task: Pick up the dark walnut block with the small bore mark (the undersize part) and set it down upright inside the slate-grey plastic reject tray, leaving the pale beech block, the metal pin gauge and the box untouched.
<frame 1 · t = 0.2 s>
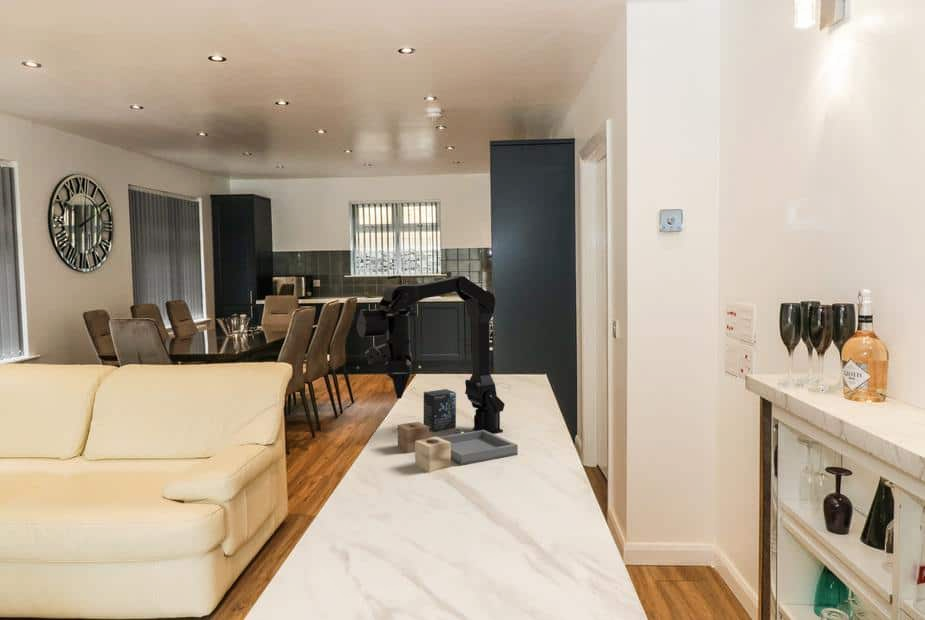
hand: (399, 394, 163), 14 cm above the counter, fingers open, 9 cm apart
box: (439, 428, 182), on the counter
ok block: (433, 466, 149), on the counter
tray: (473, 451, 160), on the counter
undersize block: (413, 448, 163), on the counter
pin gauge: (442, 442, 168), on the counter
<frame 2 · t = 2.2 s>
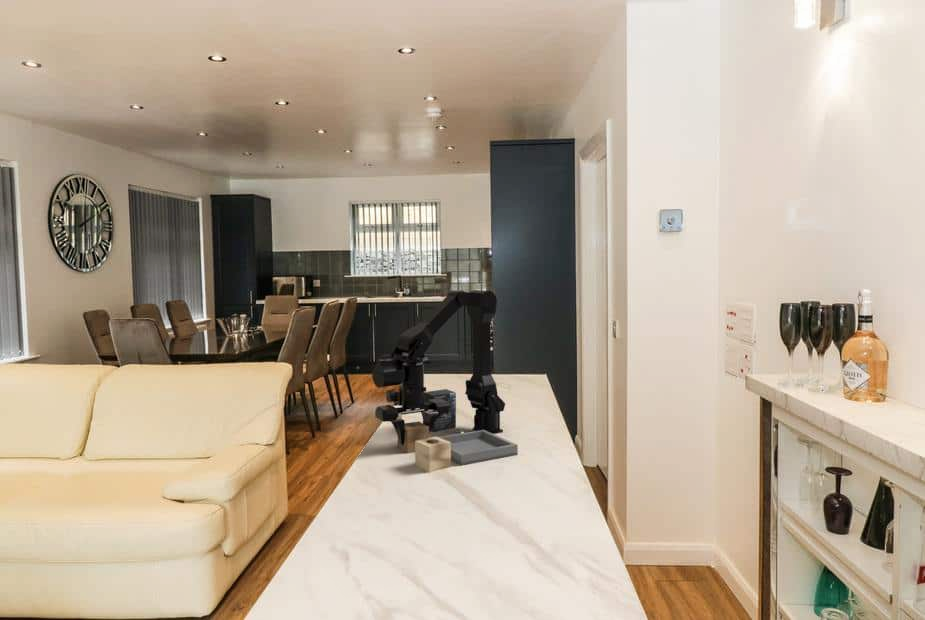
hand: (413, 442, 163), 2 cm above the counter, fingers closed on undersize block, 6 cm apart
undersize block: (413, 448, 163), on the counter, touching gripper
everything else where it was.
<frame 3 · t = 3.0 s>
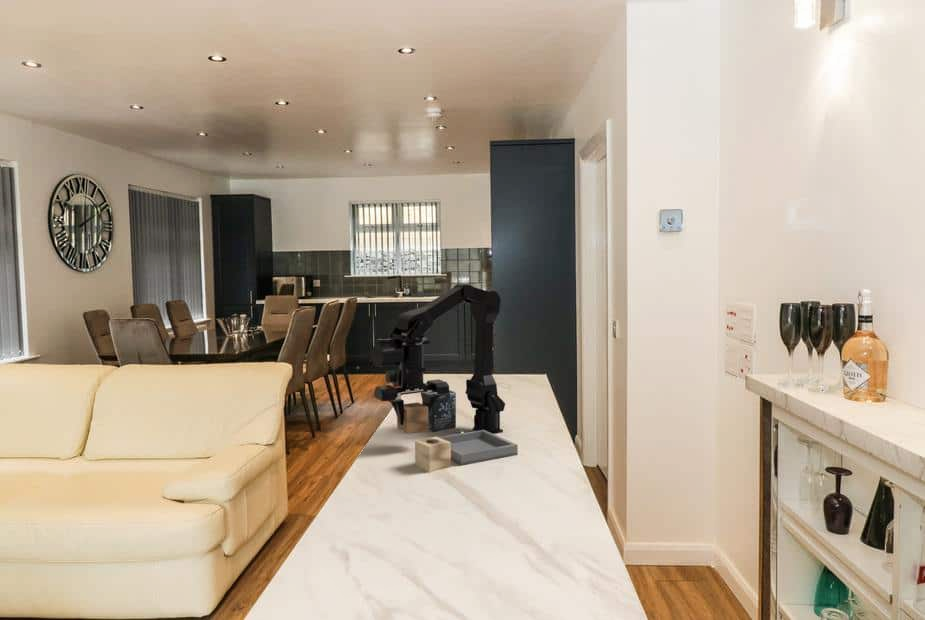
hand: (412, 423, 162), 7 cm above the counter, fingers closed on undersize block, 6 cm apart
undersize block: (412, 429, 162), point 5 cm above the counter, touching gripper
everything else where it was.
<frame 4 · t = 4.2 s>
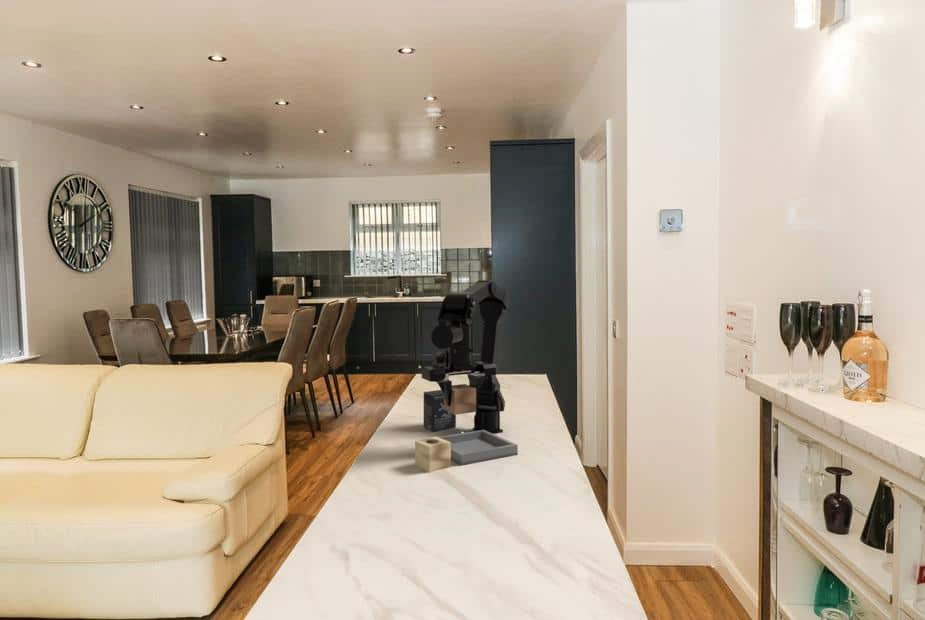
hand: (459, 404, 160), 12 cm above the counter, fingers closed on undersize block, 6 cm apart
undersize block: (459, 410, 160), point 10 cm above the counter, touching gripper
everything else where it was.
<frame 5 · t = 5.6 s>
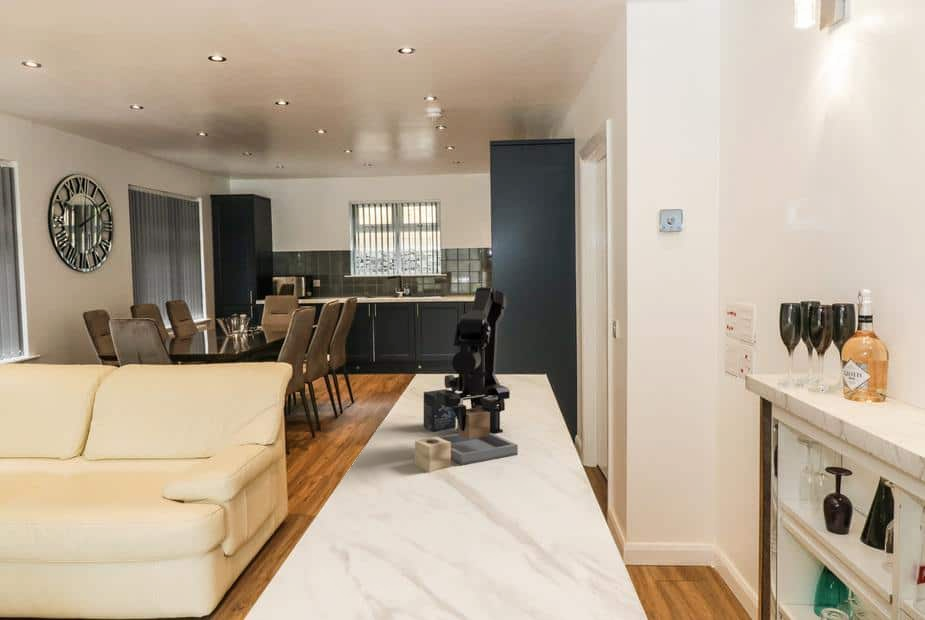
hand: (473, 428, 160), 6 cm above the counter, fingers closed on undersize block, 6 cm apart
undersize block: (473, 434, 160), point 4 cm above the counter, touching gripper
everything else where it was.
when the fingers open (3 cm above the counter, at t = 6.5 s): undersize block drops 1 cm, resting on tray.
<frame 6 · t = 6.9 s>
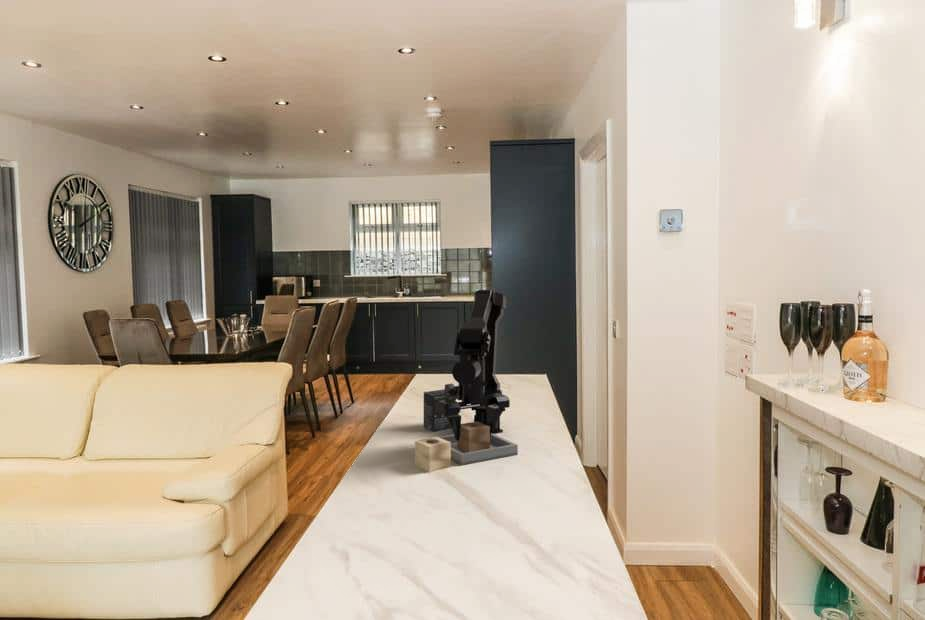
hand: (473, 437, 160), 3 cm above the counter, fingers open, 9 cm apart
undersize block: (473, 448, 160), point 1 cm above the counter, touching tray
everything else where it was.
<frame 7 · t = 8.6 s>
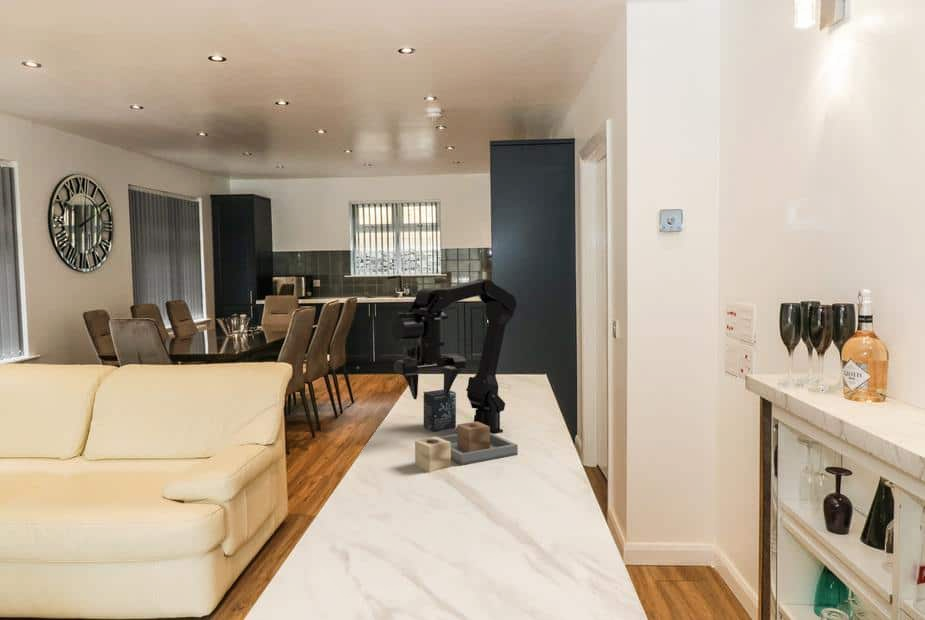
hand: (430, 397, 165), 13 cm above the counter, fingers open, 9 cm apart
nothing on the counter moved.
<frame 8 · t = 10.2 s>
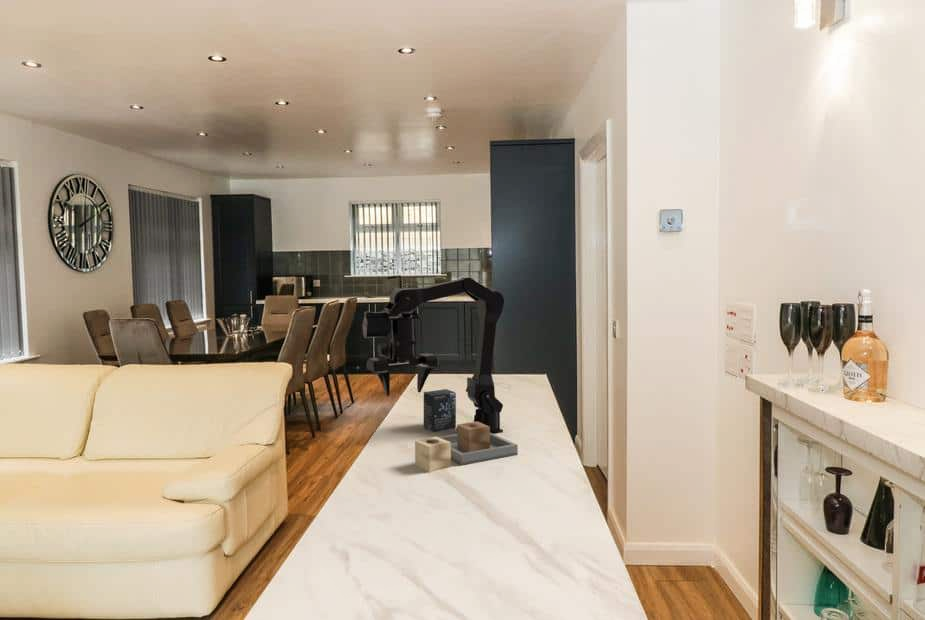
hand: (403, 394, 169), 12 cm above the counter, fingers open, 9 cm apart
nothing on the counter moved.
at the end: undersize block inside the target area on the tray (0.0 cm from its centre), point 0.6 cm above the tray's base; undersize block tilted 0°; the gripper is holding nothing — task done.
